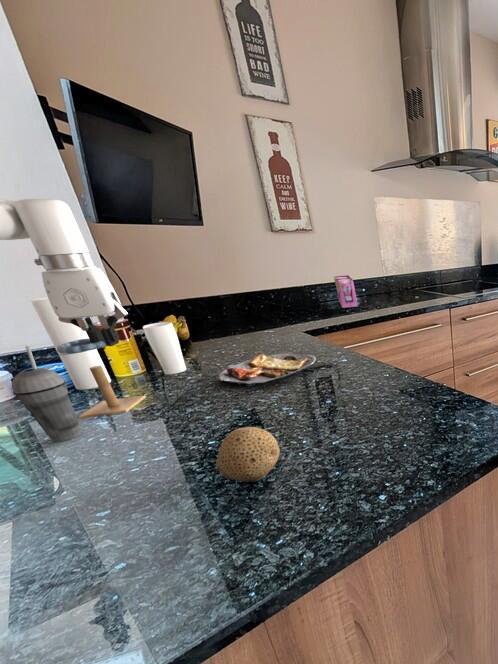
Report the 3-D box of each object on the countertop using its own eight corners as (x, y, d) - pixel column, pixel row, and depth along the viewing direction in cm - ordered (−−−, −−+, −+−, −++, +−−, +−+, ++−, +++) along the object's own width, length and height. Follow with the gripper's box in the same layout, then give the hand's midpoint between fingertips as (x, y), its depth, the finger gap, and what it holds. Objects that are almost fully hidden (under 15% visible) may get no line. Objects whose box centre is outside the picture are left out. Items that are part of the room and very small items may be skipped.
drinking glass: (156, 376, 117) (135, 327, 111) (178, 368, 123) (160, 321, 117) (173, 377, 115) (154, 328, 109) (195, 369, 121) (178, 322, 115)
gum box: (358, 306, 203) (353, 280, 198) (342, 308, 200) (336, 281, 195) (353, 299, 223) (348, 275, 218) (338, 301, 220) (333, 276, 214)
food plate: (201, 384, 110) (196, 372, 109) (270, 357, 130) (267, 347, 129) (270, 392, 103) (266, 380, 102) (332, 363, 123) (329, 352, 122)
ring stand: (80, 420, 91) (57, 376, 87) (104, 404, 99) (84, 363, 94) (127, 414, 93) (107, 370, 89) (147, 399, 101) (129, 358, 97)
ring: (47, 356, 85) (44, 350, 84) (76, 344, 93) (73, 339, 92) (99, 350, 87) (97, 344, 87) (123, 339, 95) (120, 334, 95)
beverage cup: (44, 437, 84) (-8, 348, 76) (91, 424, 89) (47, 340, 81) (40, 449, 80) (-15, 356, 72) (90, 436, 84) (43, 347, 76)
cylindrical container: (113, 379, 115) (73, 294, 105) (111, 386, 110) (68, 297, 100) (79, 386, 111) (34, 297, 101) (75, 393, 106) (27, 301, 96)
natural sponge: (295, 478, 68) (280, 428, 64) (236, 505, 62) (216, 452, 58) (276, 460, 74) (261, 412, 70) (220, 482, 67) (200, 432, 64)
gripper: (6, 267, 78) (52, 354, 86) (103, 262, 82) (139, 345, 90) (35, 263, 85) (76, 345, 92) (123, 259, 89) (156, 337, 96)
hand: (107, 344), depth 91 cm, fingers closed on ring, 1 cm apart
